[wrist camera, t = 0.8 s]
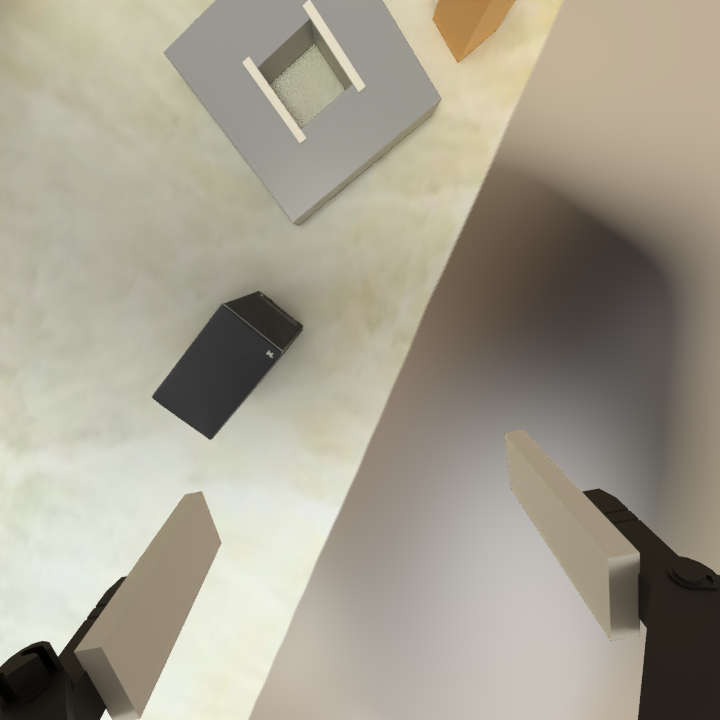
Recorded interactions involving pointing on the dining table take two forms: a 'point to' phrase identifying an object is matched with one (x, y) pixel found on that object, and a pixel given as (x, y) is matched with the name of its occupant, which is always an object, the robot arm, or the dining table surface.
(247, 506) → the dining table surface
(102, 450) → the dining table surface
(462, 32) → the plug
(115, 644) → the robot arm
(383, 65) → the socket
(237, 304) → the small box
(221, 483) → the dining table surface
